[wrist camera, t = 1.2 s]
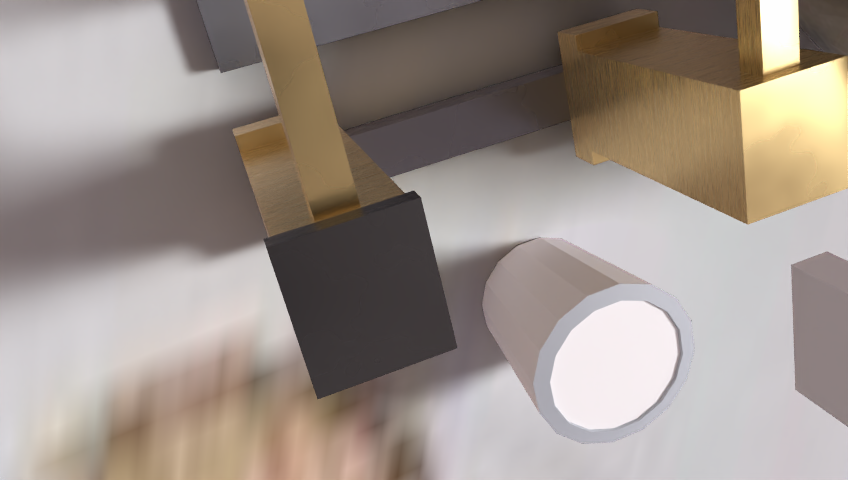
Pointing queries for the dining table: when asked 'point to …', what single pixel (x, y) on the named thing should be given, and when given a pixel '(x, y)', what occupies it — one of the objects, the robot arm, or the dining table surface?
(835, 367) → the robot arm
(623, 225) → the dining table surface
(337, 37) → the hole plate
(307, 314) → the sliding leg
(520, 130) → the rail
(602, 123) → the fixed leg
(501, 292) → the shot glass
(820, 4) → the bowl
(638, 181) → the dining table surface
